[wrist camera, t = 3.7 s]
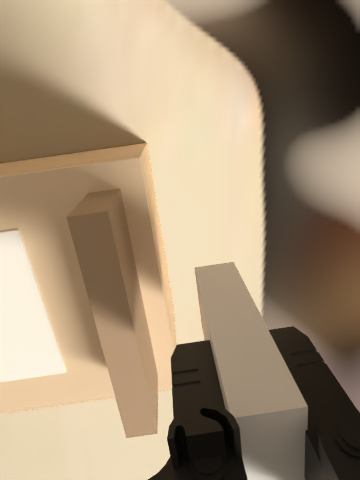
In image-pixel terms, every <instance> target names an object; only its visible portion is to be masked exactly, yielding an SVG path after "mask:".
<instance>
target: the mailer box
mask: <svg viewBox="0 0 360 480" xmlns="http://www.w3.org/2000/svg"><path fill="white" fill-rule="evenodd" d="M136 156H141V161H142V167H143V172H144V178H145V184H146V190H147V196H148V202H149V207H150V213H151V219H152V225H153V231H154V237H155V242H156V248H157V254H158V260H159V266H160V272H161V277H162V283H163V289H164V295H165V301H166V307H167V313H168V318H169V324H170V330H171V336H172V342H173V348H174V350H175V348H176V346H177V345H176V331H175V317H174V307H173V301H172V295H171V288H170V282H169V276H168V270H167V264H166V258H165V251H164V245H163V239H162V233H161V227H160V220H159V214H158V208H157V202H156V196H155V190H154V183H153V177H152V171H151V165H150V159H149V153H148V146H147V143H142V144H135V145H128V146H120V147H113V148H106V149H99V150H92V151H85V152H78V153H71V154H64V155H57V156H49V157H42V158H35V159H28V160H21V161H14V162H7V163H0V176H1V175H8V174H15V173H22V172H29V171H36V170H43V169H51V168H58V167H65V166H72V165H79V164H86V163H93V162H100V161H107V160H114V159H121V158H128V157H136Z"/></svg>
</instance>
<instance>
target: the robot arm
mask: <svg viewBox="0 0 360 480" xmlns="http://www.w3.org/2000/svg"><path fill="white" fill-rule="evenodd" d="M195 274H196V282H197V290H198V298H199V306H200V314H201V322H202V328H203V333H204V338H205V341H200V342H193V343H186V344H179V345H177V346H176V348H175V350H174V352H173V354H172V356H171V374H172V395H173V414H174V419H173V421H172V423H171V424H170V426H169V431H168V437H167V441H168V446H169V451H170V455H171V456H170V458H169V460H168V461H167V463H166V465H165V466H164V467H163V468H162V469H161V470H160V471H159V472H158V473H157V474H156V475H154V476H153V477H151V478H150V479H148V480H360V413H359V411H358V410H357V409H356V407H355V406H354V404H353V403H352V401H351V400H350V399H349V397H348V395H347V394H346V393H345V391H344V390H343V388H342V387H341V385H340V384H339V382H338V381H337V379H336V378H335V376H334V375H333V373H332V372H331V371H330V369H329V368H328V366H327V364H325V363H324V360H323V359H322V357H321V356H320V354H319V353H318V352H317V350H316V348H315V347H314V345H313V344H312V342H311V341H310V339H309V338H308V337H307V336H306V335H305V334H303V333H302V332H300V331H299V330H298V329H296V328H294V327H286V328H279V329H273V330H268V328H267V326H266V324H265V323H264V320H263V318H262V317H261V315H260V313H259V311H258V309H257V307H256V305H255V303H254V301H253V299H252V297H251V295H250V293H249V291H248V289H247V287H246V285H245V284H244V282H243V280H242V278H241V276H240V274H239V272H238V270H237V268H236V266H235V264H234V262H230V263H223V264H216V265H210V266H203V267H196V268H195Z"/></svg>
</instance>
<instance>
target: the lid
mask: <svg viewBox="0 0 360 480" xmlns="http://www.w3.org/2000/svg"><path fill="white" fill-rule="evenodd" d="M173 352H174V348H173V342H172V336H171V330H170V324H169V318H168V313H167V307H166V301H165V295H164V289H163V283H162V277H161V272H160V266H159V260H158V254H157V248H156V242H155V237H154V231H153V225H152V219H151V213H150V207H149V202H148V196H147V190H146V184H145V178H144V172H143V167H142V161H141V156H136V157H128V158H121V159H114V160H107V161H100V162H93V163H86V164H79V165H72V166H65V167H58V168H51V169H43V170H36V171H29V172H22V173H15V174H8V175H1V176H0V414H6V413H13V412H20V411H27V410H34V409H40V408H47V407H54V406H61V405H68V404H75V403H82V402H89V401H95V400H102V399H109V398H116V401H117V405H118V408H119V412H120V416H121V419H122V423H123V427H124V430H125V434H126V438H130V437H137V436H144V435H151V434H157V421H158V391H164V390H171V389H172V374H171V356H172V354H173Z"/></svg>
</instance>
